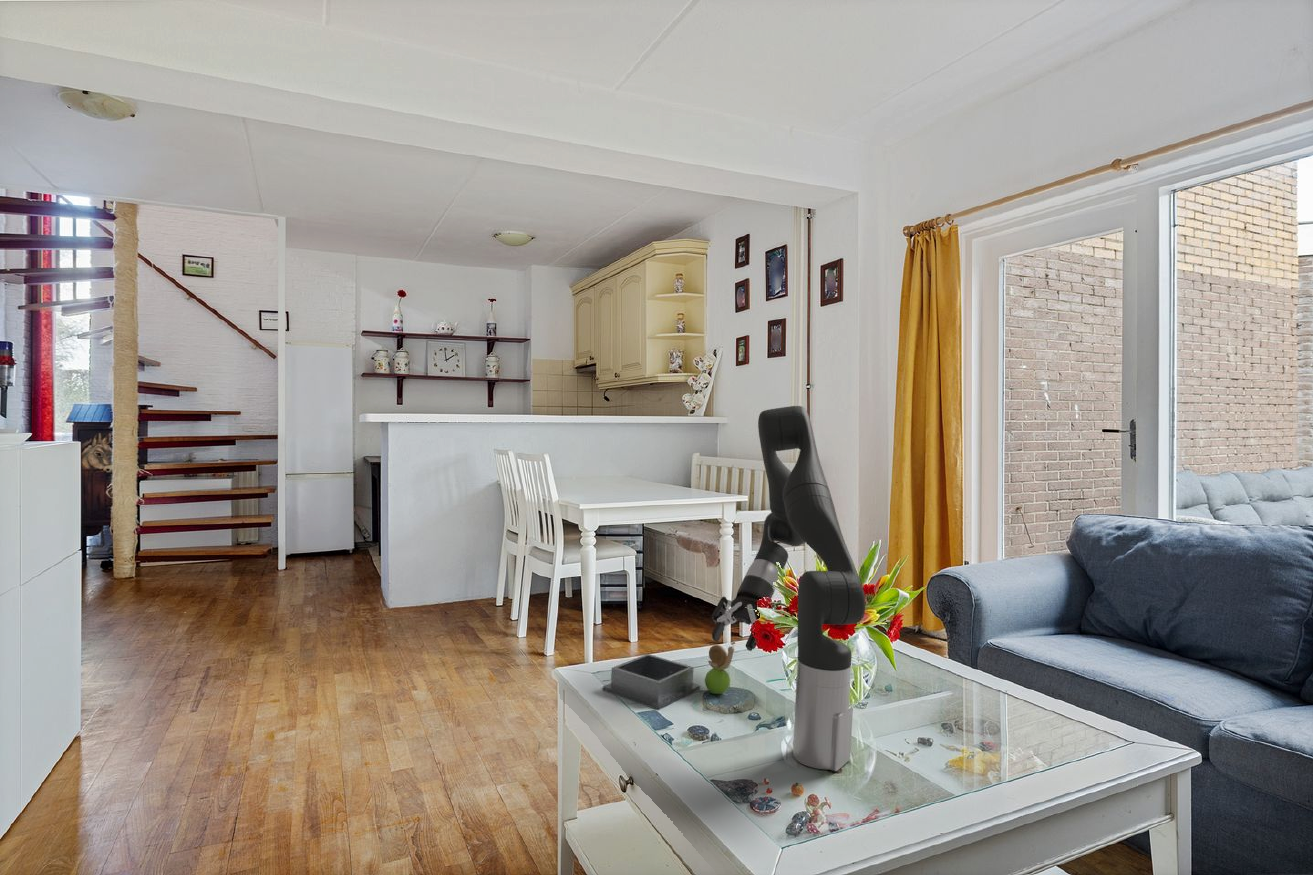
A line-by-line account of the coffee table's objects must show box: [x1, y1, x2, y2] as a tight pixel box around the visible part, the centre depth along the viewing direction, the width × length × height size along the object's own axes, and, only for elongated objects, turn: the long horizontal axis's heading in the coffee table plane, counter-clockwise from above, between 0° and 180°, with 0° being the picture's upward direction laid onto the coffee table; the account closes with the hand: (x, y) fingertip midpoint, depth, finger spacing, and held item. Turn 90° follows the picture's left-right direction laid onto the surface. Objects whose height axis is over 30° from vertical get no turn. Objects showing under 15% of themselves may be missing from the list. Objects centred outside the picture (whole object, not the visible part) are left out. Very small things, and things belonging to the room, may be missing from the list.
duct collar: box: [602, 653, 701, 710], centre depth 159 cm, size 15×15×5 cm
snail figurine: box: [704, 641, 736, 695], centre depth 158 cm, size 5×6×12 cm
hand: (731, 644), depth 161 cm, fingers open, 8 cm apart
